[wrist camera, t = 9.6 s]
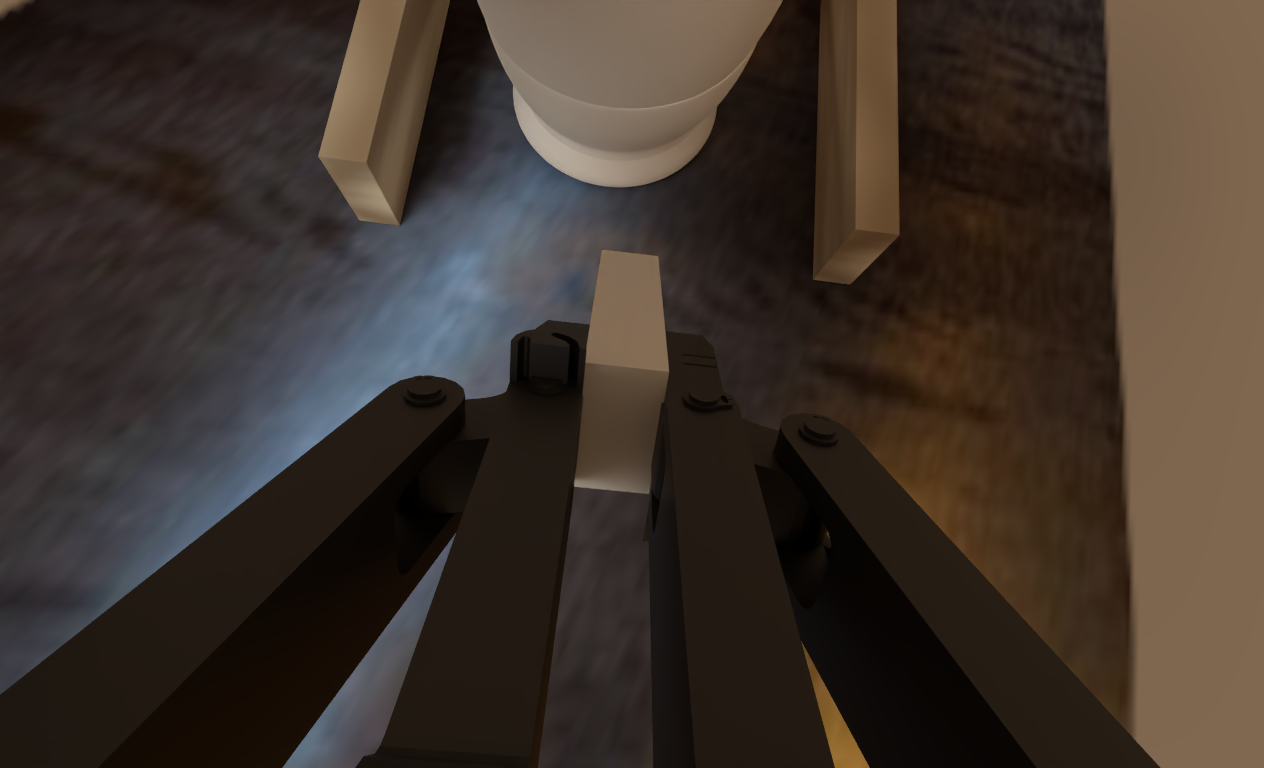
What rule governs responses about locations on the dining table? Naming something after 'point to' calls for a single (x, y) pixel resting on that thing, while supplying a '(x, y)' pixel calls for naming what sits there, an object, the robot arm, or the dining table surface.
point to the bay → (846, 122)
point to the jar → (622, 78)
